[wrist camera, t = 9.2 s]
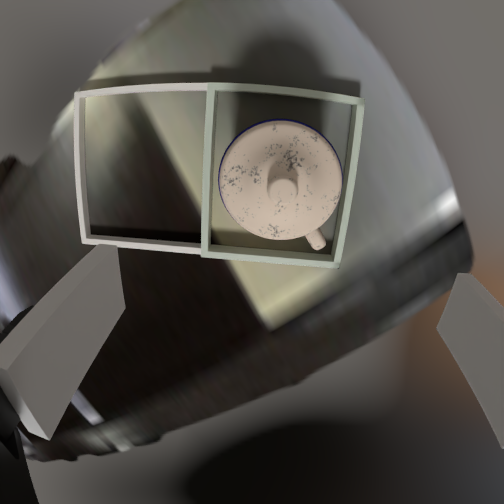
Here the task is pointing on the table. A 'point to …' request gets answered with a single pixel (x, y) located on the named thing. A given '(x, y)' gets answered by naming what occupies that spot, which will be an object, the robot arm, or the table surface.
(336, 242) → the divided tray
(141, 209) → the table surface
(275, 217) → the teacup with lid
